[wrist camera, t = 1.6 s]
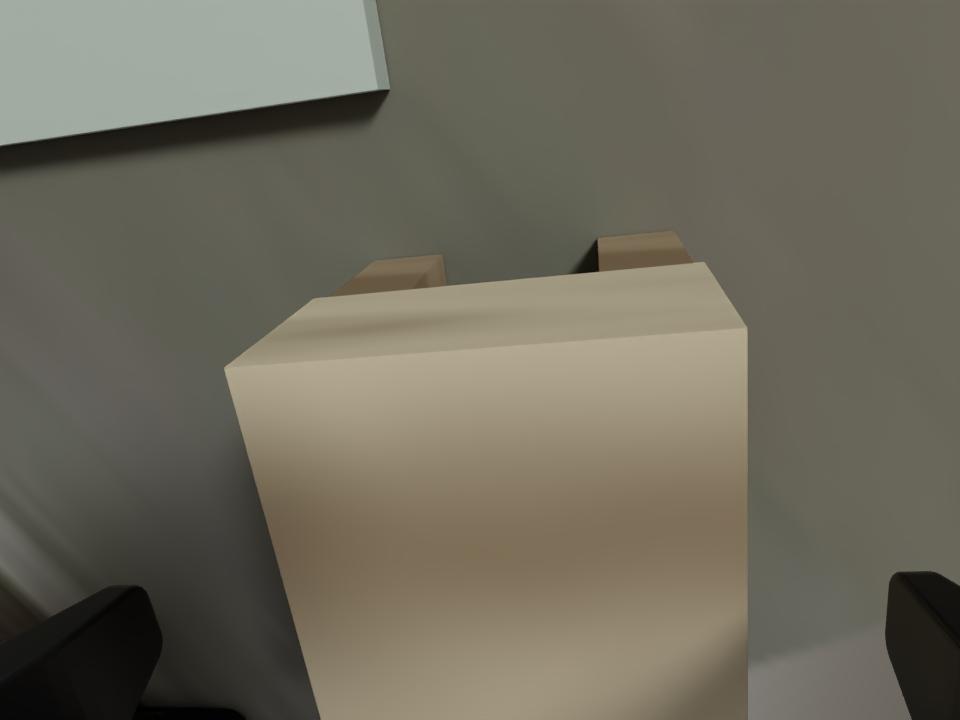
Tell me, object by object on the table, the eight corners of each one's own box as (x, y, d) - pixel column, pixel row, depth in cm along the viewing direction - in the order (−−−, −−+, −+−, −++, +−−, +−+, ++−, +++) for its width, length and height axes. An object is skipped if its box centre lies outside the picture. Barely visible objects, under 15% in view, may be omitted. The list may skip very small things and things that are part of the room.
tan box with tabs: (689, 505, 15) (747, 751, 9) (417, 514, 16) (326, 740, 11) (680, 224, 13) (747, 328, 7) (368, 256, 14) (224, 368, 8)
